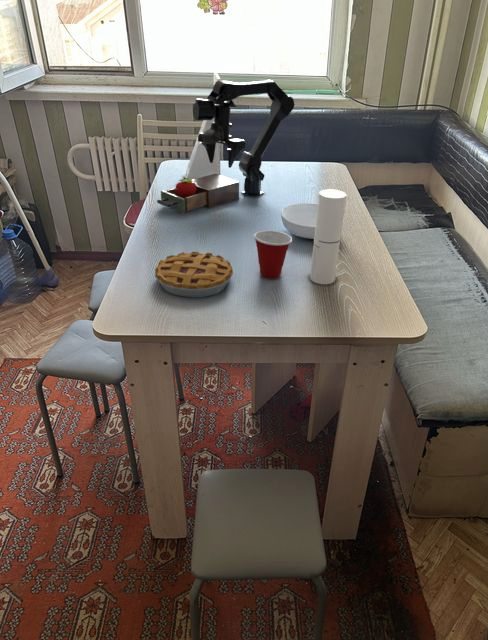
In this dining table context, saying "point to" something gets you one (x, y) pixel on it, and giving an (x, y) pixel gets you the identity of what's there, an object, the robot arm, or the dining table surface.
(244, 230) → the dining table surface
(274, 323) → the dining table surface
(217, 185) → the cabinet
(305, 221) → the serving bowl
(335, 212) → the cylindrical container
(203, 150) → the white bracket plate
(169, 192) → the drawer
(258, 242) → the plastic cup
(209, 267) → the pie
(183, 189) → the strawberry
